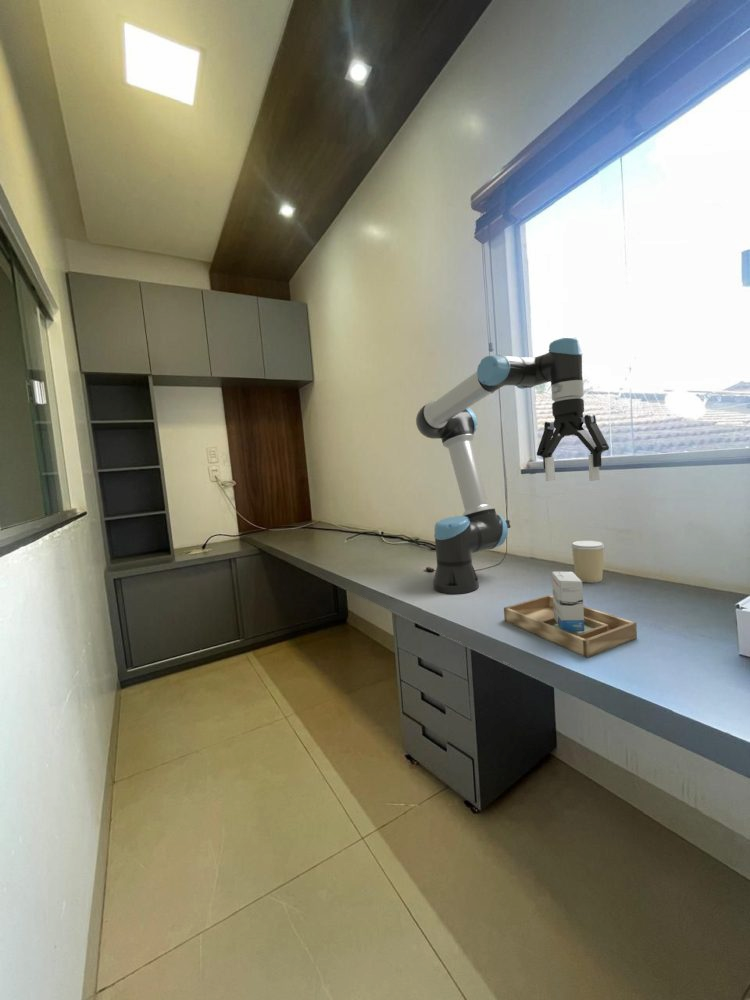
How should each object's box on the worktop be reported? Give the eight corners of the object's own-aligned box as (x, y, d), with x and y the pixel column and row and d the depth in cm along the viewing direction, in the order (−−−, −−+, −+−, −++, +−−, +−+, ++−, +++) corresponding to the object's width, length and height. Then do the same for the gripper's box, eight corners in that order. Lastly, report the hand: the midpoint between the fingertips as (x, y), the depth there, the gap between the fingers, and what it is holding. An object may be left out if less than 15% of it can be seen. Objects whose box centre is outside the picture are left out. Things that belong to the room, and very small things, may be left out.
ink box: (585, 632, 89) (583, 580, 88) (561, 632, 90) (559, 581, 89) (574, 617, 97) (572, 570, 96) (553, 617, 98) (550, 571, 97)
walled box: (504, 620, 103) (503, 607, 103) (549, 607, 110) (548, 594, 110) (587, 657, 82) (586, 641, 81) (636, 638, 88) (636, 622, 88)
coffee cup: (601, 574, 134) (599, 540, 133) (608, 583, 125) (607, 546, 124) (570, 574, 137) (569, 540, 136) (575, 583, 128) (574, 546, 127)
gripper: (521, 408, 114) (525, 481, 116) (602, 389, 91) (605, 481, 93) (540, 407, 117) (544, 479, 119) (623, 389, 94) (626, 478, 96)
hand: (571, 480), depth 106 cm, fingers open, 13 cm apart
